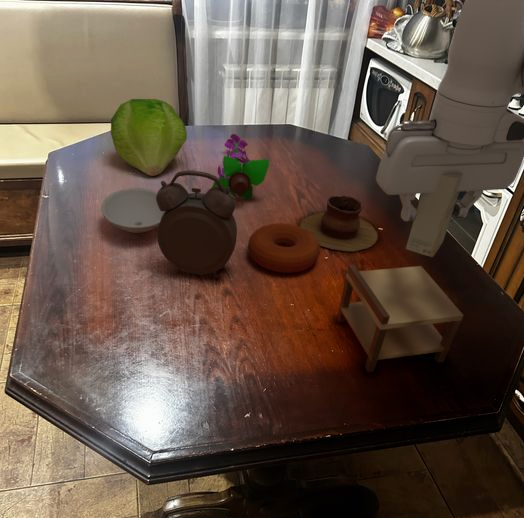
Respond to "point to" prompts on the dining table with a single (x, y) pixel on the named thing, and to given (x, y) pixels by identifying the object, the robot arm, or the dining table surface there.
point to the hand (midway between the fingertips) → (433, 217)
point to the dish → (133, 209)
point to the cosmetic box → (434, 216)
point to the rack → (398, 313)
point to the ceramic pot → (341, 225)
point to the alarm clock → (196, 225)
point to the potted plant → (232, 168)
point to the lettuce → (147, 134)
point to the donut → (283, 248)
